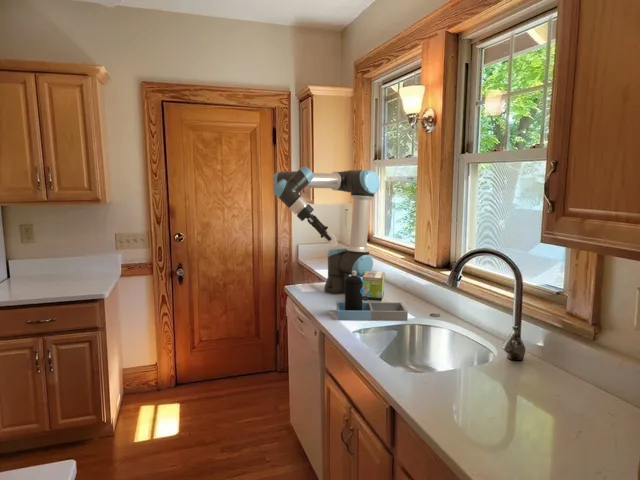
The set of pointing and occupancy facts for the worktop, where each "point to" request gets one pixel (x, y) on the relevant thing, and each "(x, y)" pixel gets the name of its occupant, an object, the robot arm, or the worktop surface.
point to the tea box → (373, 286)
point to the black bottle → (353, 293)
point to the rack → (374, 311)
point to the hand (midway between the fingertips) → (335, 243)
